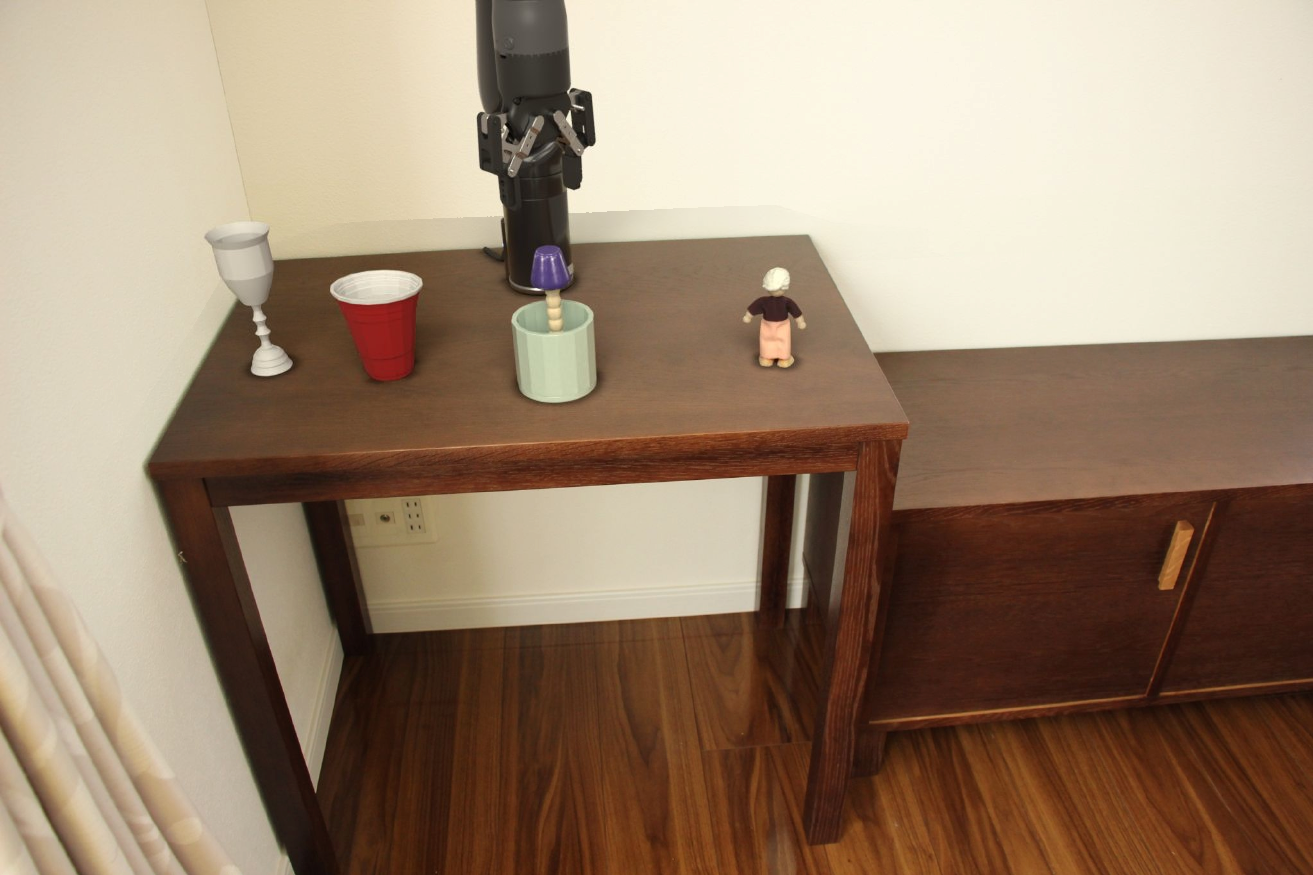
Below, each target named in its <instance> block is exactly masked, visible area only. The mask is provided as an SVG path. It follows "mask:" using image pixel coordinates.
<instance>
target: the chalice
mask: <svg viewBox="0 0 1313 875" xmlns="http://www.w3.org/2000/svg"><path fill="white" fill-rule="evenodd" d="M269 232H270V225H269V224H268V223H266V222H262V221H254V220H251V221H250V220H249V221H248V220H247V221H244V220H243V221H237V222H230V223H225V224H222V225H218V226H215V227H213V228H212V229H209V230H208V231H206V233H204V235H203V236H204V237H203V238H204V239H205V241H206V242H208V244H209V245H210V246H211V250H212V253H213V256H214V260H215V264H216V267H217V270H218V274H219V277H220V278H221V279H222V281H223V283H224V284H225V285H226V286H227V288H228V289H229V290H230V291H231V292H232V293H233V295H234V296H235V297H236V298H237V299H238V300H239V301H240V302H241V303H242V304H243V305H244V306H248V307H251V310H253V317H252V321H253V322H254V323H255V325H256V326H257V328H256V329H257V330H256V332H255V335H256V336H258V338H259V339H260V341H261V343H260V344H261V345H260V347H258V348H257V349H256V350H255V352H254V353H253V358H252V361H251V363H252V364H251V367H250V372H251V373H252V374H253V375H256V376H260V377H270V376H271V377H272V376H276V375H279V374H283V373H285V372H286V371H288V370H290V369H291V368H292V366H293V365H294V364H293V360H292V359H291V358H290V357H289V355H288V354H287V353H286V352H285V350H284V349H283V348H282V347H280V346H278V345H275V344H273V343H272V342H271V340H270V334H271V329H269V328H268V327H267V325H266V319H267V316H266V315H265V314H264V312H263V310H262V304H264V303H265V302H267V301H268V298H269V296H270V291H271V288H272V285H273V279H274V270H275V263H274V258H273V256H272V251H271V247H270V243H269V239H268V238H269Z"/></svg>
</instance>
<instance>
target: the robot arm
mask: <svg viewBox="0 0 1313 875" xmlns="http://www.w3.org/2000/svg"><path fill="white" fill-rule="evenodd" d="M474 1H475V2H474V3H475V5H474V6H475V45H476V46H475V49H476V50H475V51H476V52H475V53H476V54H475V55H476V76H477V86H478V87H477V88H478V94H479V99H480V103H481V107H482V109H483V111H479V112H478V113H477V115H476V131H477V148H478V166H479V169H480V170H481V171H483V172H486V173H489V174H492V175H495V176H496V177H497V183H498V192H499V200H500V202H501V204H502V212H503V216H502V217H501V219H500V230H501V239H502V249H501V250H502V251H501V255H500V254H497V253H496V252H494V251H493V250H492V249H491V248H489V247H487V246H483V248H482V251H483V252H485V253H487V254H488V255H489V256H490V257H492V258H493V259H494V260H496V261H499V262H502V261H504V269H505V276H506V277H505V278H506V281H508V282H509V286H510V288H512V289H513V290H514V291H516V292H518V293H520V294H525V295H533V296H540V295H542V296H543V295H546V293H545V290H540V289H537V288H535V287H533V285H532V284H531V272H532V265H533V259H534V254H535V251H536V250H537V249H538V248H539V247H542V246H547V245H552V246H556V247H558V248H559V249H560V250H561V251H562V254H563V256H564V259H565V262H566V265H567V267H568V270H569V273H570V276H571V281H570V283H569V284H568V285H567V286H565V287H564V288H561V289H560V292H562V291H564V290H567V289H568V288H570V287H571V286H572V285H573V283H574V262H572V244H571V228H570V214H569V212H570V211H569V197H568V190H572V191H576V190H580V189H581V185H582V184H581V183H582V182H583V158H582V156H583V155H584V152H585V150H586V149H587V148H588V147H594V146H595V144H596V142H597V139H596V138H597V137H596V127H595V115H594V114H595V113H594V103H593V94H592V92H591V91H588V90H584V89H580V88H576V87H572V77H571V59H570V40H569V23H568V14H567V9H566V2H565V0H474ZM569 113H570V120H571V124H570V123H569V122H568V121H567V119H568V116H569ZM504 126H505V127H506V128H504Z"/></svg>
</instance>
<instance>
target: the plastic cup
mask: <svg viewBox="0 0 1313 875" xmlns="http://www.w3.org/2000/svg"><path fill="white" fill-rule="evenodd" d="M422 289H423V279H422V278H421V277H420V276H418V275H417V274H416V273H412V272H409V271H404V270H396V269H395V270H394V269H376V270H365V271H360V272H356V273H355V272H354V273H350V274H348V275H345V276H343V277H340V278H338V279H337V280H335V281H334V282H333V283H331V284H330V290H329V292H330V294H331V296H333V297H334V298H335V301H336V302H337V305H338V307H339V308H340V311H341V314H342V315H343V317H344V320H345V323H346V325H347V327H348V330H349V333H350V336H351V338H352V341H353V344H354V346H355V349H356V351H357V353H358V354H359V356H360V360H361V362H362V364H363V367H364V370H365V372H367V375H368V376H369V377H370V378H371V379H373V380H376V381H384V382H388V381H389V382H390V381H397V380H399V379H402V378H405V377H407V376H408V375H410V374H412V372H413V371H414V368H415V367H414V366H415V352H416V351H415V348H416V338H417V337H416V336H417V308H418V300H419V295H420V292H421V290H422Z"/></svg>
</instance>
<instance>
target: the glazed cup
mask: <svg viewBox="0 0 1313 875" xmlns="http://www.w3.org/2000/svg"><path fill="white" fill-rule="evenodd" d="M560 306H561V308H562V316H561V318H562V319H563V328H562V329H563V331H564V332H561V333H549V332H550V329H549V326H548V320H549V317H548V315H547V308H548V306H547V304H546V299H543V300H539V301H533V302H530V303H528V304H525V305H523V306H521V307H518V309H517V310H515V311H514V312H513V314H512V316H511V321H510V322H511V332H512V342H513V343H512V344H513V352H514V361H515V370H516V371H515V372H516V381H517V383H518V384H517V385H518V389H519V391H520V392H521V393H522V394H523V395H524V396H525V397H527V398H528V399H531V400H533V401H537V402H541V403H549V404H550V403H552V404H555V403H556V404H557V403H559V404H560V403H566V402H573V401H576V400H578V399H581V398H584V397H585V396H587V395H588V394H590V393H591V392H592V391H593V390H594V389H595V387H596V386H597V382H598V380H597V379H598V377H597V376H598V374H597V373H598V368H597V351H596V335H595V334H596V330H595V313H594V312H593V310H592V309H591V308H590V307H589V306H588V305H586V304H584V303H583V302H579V301H576V300H571V299H565V298H564V299H563V298H561V305H560Z"/></svg>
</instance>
